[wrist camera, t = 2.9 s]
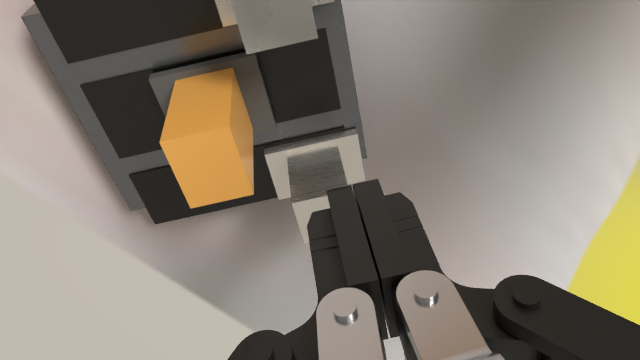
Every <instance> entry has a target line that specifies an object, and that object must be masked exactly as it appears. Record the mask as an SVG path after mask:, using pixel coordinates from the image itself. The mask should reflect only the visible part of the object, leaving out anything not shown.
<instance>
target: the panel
mask: <svg viewBox="0 0 640 360" xmlns="http://www.w3.org/2000/svg"><path fill="white" fill-rule="evenodd" d="M34 2H35V4H34V5H33V6H32V7H31V8H30V9H29V10H28V11H27V12H26V13H25V14H24V15H23V16H22V17H21V18H22V20H23V21H24V23H25V25H26V27H27V29H28V30H29V32H30V34H31V36H32V37H33V39H34V41H35V43H36V44H37V46H38V48H39V50H40V51H41V53H42V55H43V57H44V58H45V60H46V62H47V64H48V65H49V67H50V69H51V71H52V72H53V74H54V76H55V78H56V79H57V81H58V83H59V85H60V86H61V88H62V90H63V92H64V93H65V95H66V97H67V99H68V100H69V102H70V104H71V106H72V107H73V109H74V111H75V113H76V114H77V116H78V118H79V120H80V121H81V123H82V125H83V127H84V128H85V130H86V132H87V134H88V135H89V137H90V139H91V141H92V142H93V144H94V146H95V148H96V150H97V151H98V153H99V155H100V157H101V158H102V160H103V162H104V164H105V165H106V167H107V169H108V171H109V172H110V174H111V176H112V178H113V179H114V181H115V183H116V185H117V186H118V188H119V190H120V192H121V193H122V195H123V197H124V199H125V200H126V202H127V204H128V206H129V207H130V209H131V211H132V210H136V209H141V208H145V207H146V208H147V210H148V212H149V214H150V216H151V218H152V219H153V221H154V223H155V224H159V223H163V222H168V221H172V220H177V219H181V218H186V217H190V216H195V215H199V214H204V213H208V212H213V211H217V210H222V209H226V208H231V207H235V206H240V205H244V204H249V203H253V202H258V201H262V200H267V199H271V198H276V197H278V199H279V200H281V199H286V198H291V202H292V206H293V210H294V213H295V216H296V220H297V223H298V226H299V229H300V233H301V236H302V239H303V243H304V244H306V243H310V242H309V237H308V231H307V224H308V222H309V219H310V216H311V214H312V212H315V211H319V210H324V209H328V208H330V205H329V201H328V196H327V192H326V190H331V189H335V188H340V187H344V186H348V185H349V184H354V183H358V182H363V181H366V180H365V174H364V168H363V162H362V159H365V158H367V155H366V149H365V143H364V137H363V131H362V125H361V119H360V113H359V107H358V101H357V95H356V89H355V83H354V77H353V71H352V65H351V59H350V53H349V47H348V41H347V35H346V28H345V22H344V16H343V10H342V4H341V0H34ZM244 52H246V54H251V53H256V55H257V59H258V62H259V66H260V69H261V73H262V76H263V80H264V83H265V87H266V90H267V93H268V97H269V100H270V104H271V107H272V111H273V114H274V118H275V121H276V126H277V130H273V131H269V132H264V133H260V134H255V135H253V173H254V195H250V196H245V197H241V198H236V199H232V200H227V201H223V202H218V203H214V204H209V205H205V206H200V207H196V208H190V206H189V204H188V202H187V200H186V198H185V196H184V194H183V192H182V189H181V187H180V185H179V183H178V181H177V179H176V177H175V175H174V172H173V170H172V168H171V166H170V164H169V162H168V160H167V158H166V155H165V153H164V151H163V149H162V147H161V145H160V143H159V142H160V138H161V135H162V131H163V127H164V123H165V119H166V118H165V115H164V113H163V111H162V109H161V106H160V104H159V102H158V100H157V97H156V95H155V93H154V91H153V88H152V86H151V84H150V82H149V80H148V79H149V77H150V74H153V73H157V72H161V71H166V70H170V69H174V68H179V67H183V66H187V65H192V64H196V63H200V62H205V61H209V60H213V59H218V58H222V57H226V56H231V55H235V54H239V53H244Z"/></svg>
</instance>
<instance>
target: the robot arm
mask: <svg viewBox="0 0 640 360" xmlns="http://www.w3.org/2000/svg"><path fill="white" fill-rule="evenodd" d="M353 191H354V194H353ZM326 192H327V196H328V201H329V205H330V208H328V209H324V210H319V211H315V212H312V214H311V216H310V219H309V222H308V224H307V231H308V237H309V242H310V249H311V255H312V262H313V268H314V274H315V280H316V287H317V293H318V304H317V307H316V310H315V312H314V314H313V315H312V316H311V318H310V319H309V320H308V321H307V322H306V323H304V324H303V325H302V326H300V327H299V328H297V329H295V330H293V331H291V332H290V333H288V334H286V335H283V334H281V333H280V332H277V331H273V330H262V331H258V332H255V333H253V334H251V335H249V336H248V337H246V338H245V339H244V340H243V341H242V342H241V343H240V344H239V345H238V346H237V348H236V349H235V350H234V352H233V353H232V354H231V356H230V357H229V358H228V360H387V359H386V353H385V347H384V342H383V340H385V339H388V334H387V328H386V323H387V326H388V330H389V334H390V337H391V338H393V337H397V336H400V340H401V343H402V346H403V350H404V356H405V360H640V325H638V324H636V323H634V322H631V321H629V320H627V319H625V318H623V317H621V316H618V315H616V314H614V313H612V312H610V311H608V310H606V309H603V308H601V307H599V306H597V305H595V304H593V303H591V302H589V301H587V300H584V299H582V298H580V297H578V296H576V295H574V294H571V293H570V292H567V291H565V290H563V289H561V288H559V287H557V286H555V285H553V284H550V283H548V282H546V281H544V280H542V279H539V278H537V277H534V276H529V275H514V276H510V277H508V278H505V279H504V280H502V281H501V282H500V283H499V284H498V285H497V286H496V288H495V289H483V288H470V287H466V286H462V285H459V284H457V283H455V282H453V281H452V280H450V279H449V278H448V277H447V276H446V275H445V274H444V273H443V272H442V270H441V268H440V266H439V263H438V261H437V259H436V256H435V254H434V252H433V250H432V247H431V245H430V243H429V240H428V238H427V236H426V233H425V231H424V229H423V226H422V224H421V222H420V219H419V218H418V215H417V212H416V210H415V208H414V205H413V203H412V202H411V201H410V200H409V199H407V198H406V197H405V196H404V195H403V194H401V193H400V192H399V193H395V194H390V195H386V196H384V194H383V191H382V189H381V186H380V183H379V181H378V179H375V180H370V181H366V182H361V183H357V184H353V190H352V187H351V185H348V186H344V187H340V188H335V189H331V190H326ZM354 196H355V197H354ZM385 319H386V322H385Z"/></svg>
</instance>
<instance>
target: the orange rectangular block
mask: <svg viewBox="0 0 640 360" xmlns="http://www.w3.org/2000/svg"><path fill="white" fill-rule="evenodd" d="M148 80H149V82H150V84H151V86H152V88H153V91H154V93H155V95H156V97H157V100H158V102H159V104H160V106H161V109H162V111H163V113H164V115H165V118H166V119H165V123H164V127H163V131H162V135H161V138H160V142H159V143H160V145H161V147H162V149H163V151H164V153H165V155H166V158H167V160H168V162H169V164H170V166H171V168H172V170H173V172H174V175H175V177H176V179H177V181H178V183H179V185H180V187H181V189H182V192H183V194H184V196H185V198H186V200H187V202H188V204H189V206H190V208H196V207H200V206H205V205H209V204H214V203H218V202H223V201H227V200H232V199H236V198H241V197H245V196H250V195H254V173H253V135H255V134H260V133H264V132H269V131H273V130H277V126H276V121H275V118H274V114H273V111H272V107H271V104H270V100H269V97H268V93H267V90H266V87H265V83H264V80H263V76H262V73H261V69H260V66H259V62H258V59H257V55H256V53H251V54H246V52H244V53H239V54H235V55H231V56H226V57H222V58H218V59H213V60H209V61H205V62H200V63H196V64H192V65H187V66H183V67H179V68H174V69H170V70H166V71H161V72H157V73H153V74H150V77H149V79H148Z"/></svg>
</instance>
